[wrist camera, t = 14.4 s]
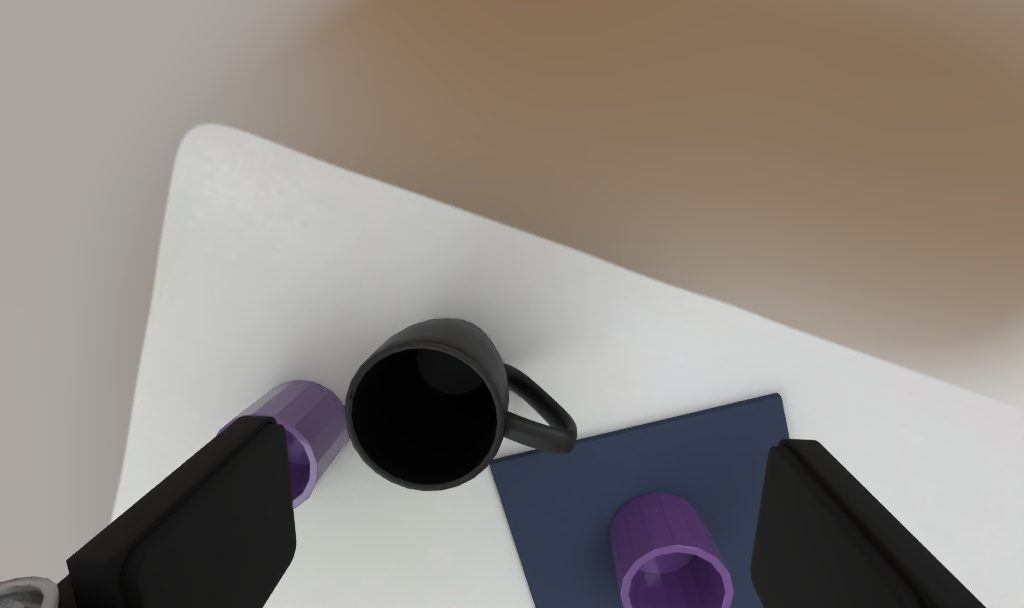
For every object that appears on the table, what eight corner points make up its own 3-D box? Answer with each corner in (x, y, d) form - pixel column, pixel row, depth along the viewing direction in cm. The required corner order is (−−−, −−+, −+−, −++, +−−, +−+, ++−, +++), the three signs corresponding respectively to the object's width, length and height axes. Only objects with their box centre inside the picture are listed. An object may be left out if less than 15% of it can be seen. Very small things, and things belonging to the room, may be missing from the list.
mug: (550, 441, 37) (553, 529, 27) (383, 396, 37) (329, 469, 27) (584, 332, 35) (599, 386, 25) (408, 284, 35) (360, 321, 25)
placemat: (777, 392, 35) (781, 396, 34) (816, 592, 38) (820, 598, 38) (489, 460, 37) (489, 464, 37) (549, 643, 40) (549, 650, 40)
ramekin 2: (694, 482, 36) (721, 535, 31) (713, 563, 37) (742, 628, 32) (599, 503, 37) (609, 558, 31) (622, 581, 38) (635, 648, 33)
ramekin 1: (331, 370, 36) (294, 402, 31) (363, 454, 38) (332, 500, 32) (245, 392, 37) (194, 429, 32) (279, 474, 38) (235, 523, 33)
